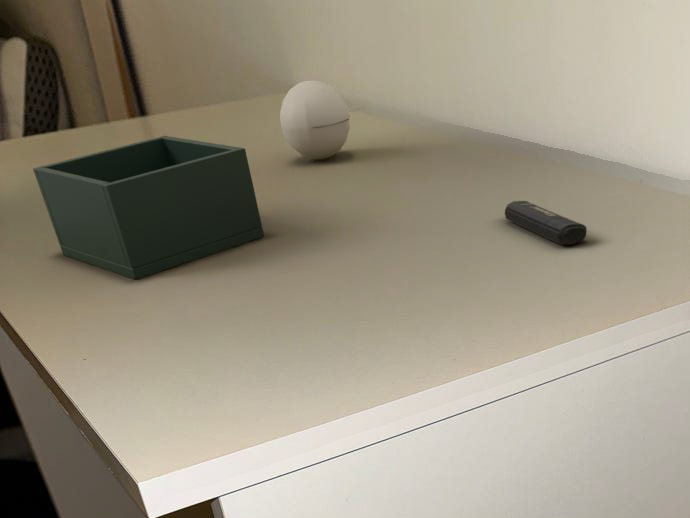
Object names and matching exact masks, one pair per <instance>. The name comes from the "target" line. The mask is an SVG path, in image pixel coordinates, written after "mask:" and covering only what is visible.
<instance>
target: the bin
mask: <svg viewBox="0 0 690 518" xmlns="http://www.w3.org/2000/svg"><path fill="white" fill-rule="evenodd" d="M32 170H33V173H34V176H35V179H36V182H37V184H38V187H39V190H40V193H41V196H42V199H43V201H44V204H45V207H46V211H47V212H48V216H49V218H50V222H51V224H52V227H53V230H54V233H55V235H56V238H57V241H58V244H59V247H60V250H61V252H62V255H63V256H66V257H69V258H72V259H74V260H78V261H80V262H83V263H86V264H89V265H93V266H95V267H98V268H102V269H104V270H107V271H110V272H113V273H116V274H119V275H121V276H122V275H123V276H125V277H128V278H131V279H133V280H138V279H141V278H144V277H147V276H150V275H154V274H157V273H159V272H162V271H165V270H168V269H171V268H174V267H177V266H180V265H183V264H185V263H188V262H191V261H195V260H198V259H201V258H204V257H207V256H210V255H213V254H216V253H219V252H221V251H224V250H228V249H230V248H233V247H237V246H239V245H243V244H245V243H248V242H251V241H254V240H257V239H260V238H263V237H265V233H264V229H263V224H262V220H261V215H260V210H259V206H258V202H257V196H256V192H255V188H254V182H253V178H252V173H251V168H250V165H249V161H248V155H247V151H246V148H245V147H239V146H233V145H225V144H221V143H213V142H208V141H201V140H195V139H194V140H193V139H189V138H188V139H187V138H181V137H176V136H169V135H162V136H158V137H154V138H150V139H146V140H142V141H138V142H135V143H134V142H133V143H130V144H125V145H122V146H118V147H114V148H110V149H105V150H102V151H98V152H93V153H90V154H89V153H88V154H86V155H81V156H77V157H74V158H73V157H72V158H69V159H66V160H62V161H61V160H60V161H56V162H53V163H50V164H49V163H48V164H45V165H41V166H36V167H33V169H32Z"/></svg>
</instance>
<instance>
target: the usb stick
mask: <svg viewBox="0 0 690 518" xmlns="http://www.w3.org/2000/svg"><path fill="white" fill-rule="evenodd" d="M504 216H505V219H506V220H507V221H509V222H513V223H514V224H516V225H519V226H521V227H523V228H525V229H527V230H529V231H530V232H533V233H536V234H538V235H539V236H541V237H544V238H545V239H547V240H550V241H552V242H554V243H557V244H559V245H561V246H572V245H575V244H579V243H581V242H582V241H584V240H585V239H586V236H587V233H588V230H587V226H586V225H585V224H583V223H580V222H577V221H574V220H572V219H569V218H568V217H565V216H563V215H560V214H557V213H555V212H553V211H550V210H548V209H546V208H543V207H541V206H539V205H537V204H534V203H532V202H529V201H528V200H514V201H511V202H510V203H508V204H507V205H506V207H505V209H504Z"/></svg>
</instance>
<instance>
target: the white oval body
mask: <svg viewBox="0 0 690 518" xmlns="http://www.w3.org/2000/svg"><path fill="white" fill-rule="evenodd" d="M365 108H366V106H362V107H358V108H355V109H352V110H348V107H347V104H346V101H345V100H344V99H343V97H342V95H341V94H340V92H338V91H337V90H336V89H335V88H333V87H332V85H330V84H328V83H325V82H323V81H320V80H305V81H300V82H298V83H297V84H295V85H294V86H293V87H292V88H290V89H289V90H288V92H287V93H286V95H285V96H284V98H283V100H282V103H281V107H280V111H279V118H280V127H281V130H282V134H283V136H284V139H285V140H286V142H287V143H288V144H289V146H290V147H291V148H292V149H293V150H294V151H296V152H297V153H298V154H300V155H301V156H303V157H305V158H309V159H311V160H325V159H328V158H331V157H333V156H334V155H335V154H337V153H338V152H339V151H341V150H342V148H343V147H344V145H345V144H346V142H347V139H348V135H349V132H350V117H351V115H350V114H349V113H350V112H354V111H358V110H361V109H365Z"/></svg>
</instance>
